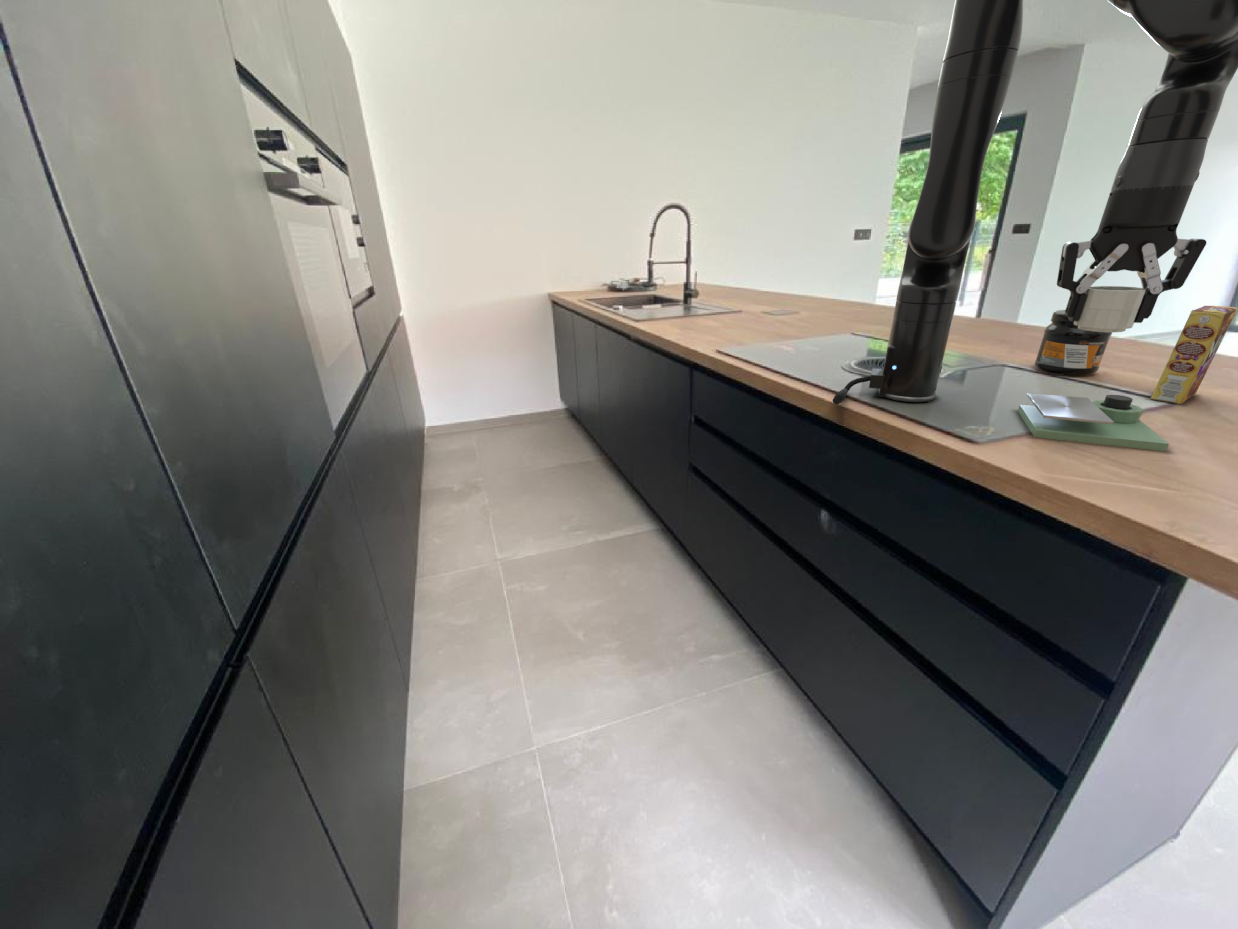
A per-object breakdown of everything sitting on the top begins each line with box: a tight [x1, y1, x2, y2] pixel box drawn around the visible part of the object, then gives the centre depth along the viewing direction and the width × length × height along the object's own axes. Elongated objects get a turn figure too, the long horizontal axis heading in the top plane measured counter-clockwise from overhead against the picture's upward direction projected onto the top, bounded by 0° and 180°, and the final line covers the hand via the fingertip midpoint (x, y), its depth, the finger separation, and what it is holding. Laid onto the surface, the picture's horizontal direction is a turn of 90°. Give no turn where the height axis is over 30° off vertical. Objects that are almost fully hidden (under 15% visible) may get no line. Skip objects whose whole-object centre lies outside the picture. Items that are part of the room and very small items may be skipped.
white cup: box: [1074, 285, 1147, 333], centre depth 70 cm, size 6×6×6 cm
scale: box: [1017, 399, 1170, 452], centre depth 76 cm, size 14×14×3 cm
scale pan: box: [1026, 392, 1114, 424], centre depth 77 cm, size 8×12×1 cm, turn 153°
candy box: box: [1150, 305, 1238, 405], centre depth 85 cm, size 9×4×15 cm, turn 123°
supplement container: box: [1034, 309, 1113, 377], centre depth 104 cm, size 10×10×12 cm
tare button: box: [1103, 394, 1133, 410], centre depth 77 cm, size 3×3×2 cm
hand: (1103, 320), depth 70 cm, fingers closed on white cup, 6 cm apart
